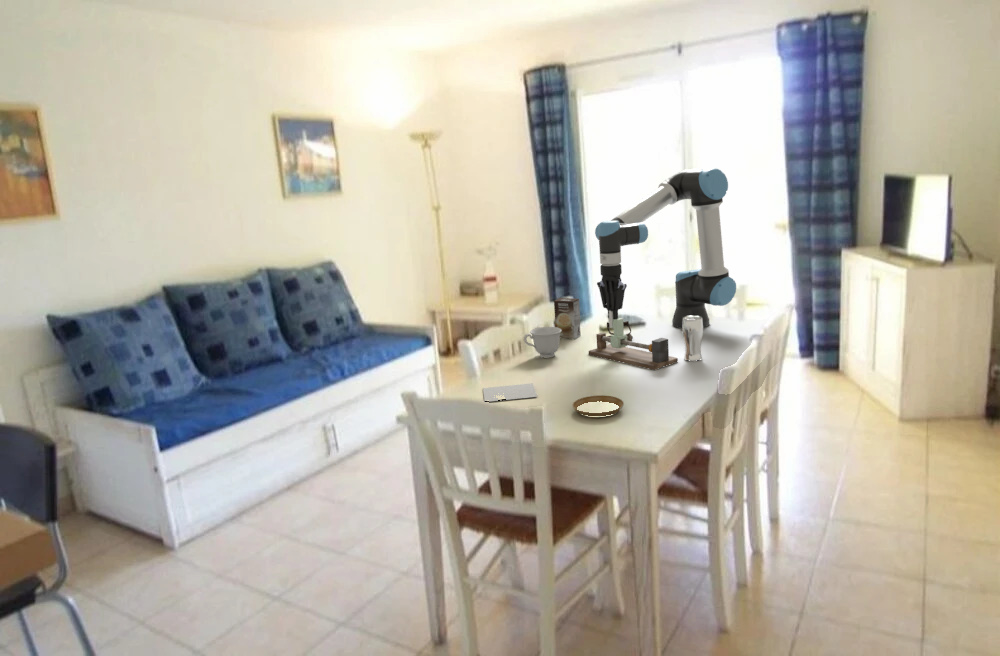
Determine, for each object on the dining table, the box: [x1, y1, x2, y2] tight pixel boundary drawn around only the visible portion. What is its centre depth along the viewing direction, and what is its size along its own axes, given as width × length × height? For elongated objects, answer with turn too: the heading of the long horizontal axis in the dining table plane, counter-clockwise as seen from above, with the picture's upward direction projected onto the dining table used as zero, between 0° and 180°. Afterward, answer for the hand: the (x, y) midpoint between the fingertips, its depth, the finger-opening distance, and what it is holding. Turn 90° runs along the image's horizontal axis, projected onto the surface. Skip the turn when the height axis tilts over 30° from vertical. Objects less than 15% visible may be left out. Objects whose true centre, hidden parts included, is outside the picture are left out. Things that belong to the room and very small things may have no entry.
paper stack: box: [482, 383, 538, 403], centre depth 226 cm, size 23×25×1 cm
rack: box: [588, 332, 679, 371], centre depth 247 cm, size 12×32×9 cm, turn 37°
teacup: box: [523, 326, 562, 359], centre depth 259 cm, size 12×15×10 cm
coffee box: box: [553, 297, 581, 340], centre depth 284 cm, size 9×6×16 cm
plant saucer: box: [572, 394, 624, 416], centre depth 199 cm, size 15×15×3 cm
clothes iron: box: [606, 320, 633, 342], centre depth 273 cm, size 7×11×10 cm, turn 76°
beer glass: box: [681, 316, 704, 362], centre depth 239 cm, size 7×7×15 cm
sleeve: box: [610, 317, 628, 349], centre depth 251 cm, size 5×4×10 cm
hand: (613, 327), depth 252 cm, fingers closed
